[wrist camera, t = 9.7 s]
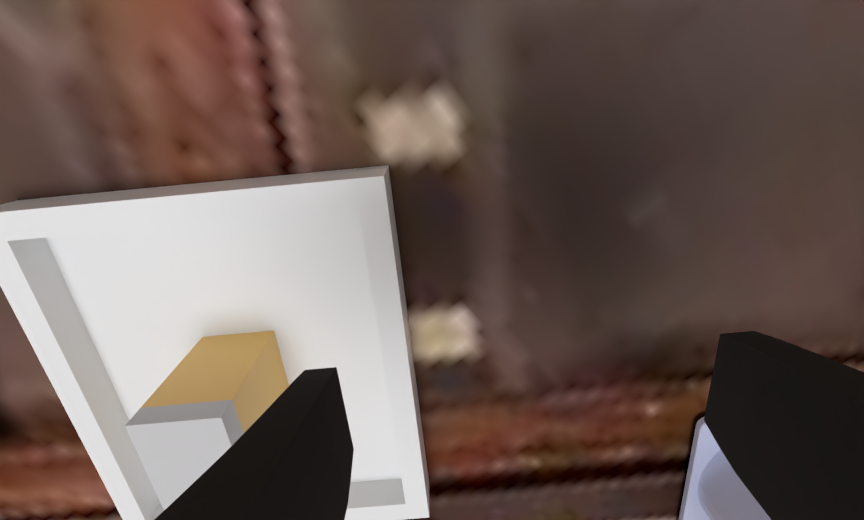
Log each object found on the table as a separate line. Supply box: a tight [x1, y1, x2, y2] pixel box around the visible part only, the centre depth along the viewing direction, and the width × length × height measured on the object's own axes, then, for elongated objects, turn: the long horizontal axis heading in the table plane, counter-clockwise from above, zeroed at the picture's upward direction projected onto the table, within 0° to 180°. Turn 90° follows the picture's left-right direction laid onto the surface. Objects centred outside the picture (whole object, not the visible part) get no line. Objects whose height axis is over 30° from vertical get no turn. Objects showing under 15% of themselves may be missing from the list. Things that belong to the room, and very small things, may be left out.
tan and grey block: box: [125, 331, 289, 510], centre depth 16 cm, size 3×4×5 cm, turn 5°
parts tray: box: [0, 165, 429, 520], centre depth 18 cm, size 14×16×2 cm
